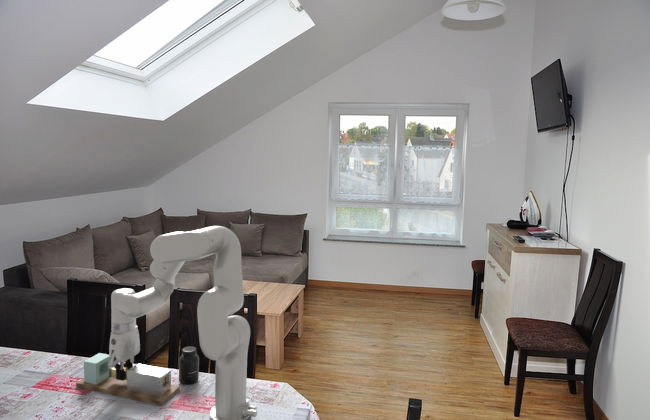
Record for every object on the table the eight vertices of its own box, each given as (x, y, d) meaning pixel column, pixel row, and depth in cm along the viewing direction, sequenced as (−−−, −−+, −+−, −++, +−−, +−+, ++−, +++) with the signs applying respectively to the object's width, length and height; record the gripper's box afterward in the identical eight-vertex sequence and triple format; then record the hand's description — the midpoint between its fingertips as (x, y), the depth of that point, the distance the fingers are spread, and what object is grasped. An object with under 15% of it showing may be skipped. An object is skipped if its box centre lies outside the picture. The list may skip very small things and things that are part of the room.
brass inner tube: (165, 382, 151) (165, 374, 150) (159, 387, 148) (159, 378, 147) (115, 372, 156) (115, 364, 156) (109, 376, 153) (109, 368, 153)
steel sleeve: (170, 388, 152) (170, 369, 151) (160, 396, 146) (160, 377, 146) (138, 382, 155) (138, 363, 154) (127, 389, 150) (126, 370, 149)
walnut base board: (179, 390, 153) (179, 386, 153) (161, 405, 144) (161, 401, 144) (98, 374, 163) (98, 370, 162) (76, 387, 153) (76, 383, 153)
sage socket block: (111, 375, 159) (111, 355, 158) (96, 384, 152) (95, 363, 152) (99, 372, 161) (99, 352, 160) (84, 382, 154) (83, 361, 153)
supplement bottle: (192, 386, 156) (193, 354, 155) (175, 384, 158) (175, 351, 156) (202, 377, 163) (202, 346, 162) (185, 375, 164) (185, 343, 163)
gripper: (115, 336, 142) (116, 390, 144) (149, 318, 158) (149, 368, 160) (96, 332, 144) (97, 386, 146) (131, 316, 160) (131, 365, 162)
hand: (124, 376), depth 153 cm, fingers closed on brass inner tube, 3 cm apart
